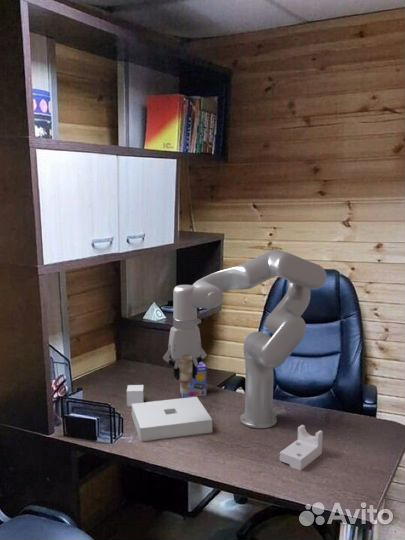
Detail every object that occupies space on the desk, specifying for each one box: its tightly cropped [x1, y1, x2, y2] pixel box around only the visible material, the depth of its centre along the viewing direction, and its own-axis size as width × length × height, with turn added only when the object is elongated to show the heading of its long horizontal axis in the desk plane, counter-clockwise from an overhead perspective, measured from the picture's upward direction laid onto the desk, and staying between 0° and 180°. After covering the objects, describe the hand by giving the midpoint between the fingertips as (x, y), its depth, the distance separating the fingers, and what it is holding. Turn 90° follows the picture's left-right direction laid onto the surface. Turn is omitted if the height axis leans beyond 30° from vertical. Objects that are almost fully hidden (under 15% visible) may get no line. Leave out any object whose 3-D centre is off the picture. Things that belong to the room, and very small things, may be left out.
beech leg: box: [177, 355, 193, 394], centre depth 177 cm, size 5×5×13 cm
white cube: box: [126, 384, 145, 407], centre depth 205 cm, size 6×6×6 cm
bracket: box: [279, 424, 324, 471], centre depth 165 cm, size 13×7×8 cm, turn 140°
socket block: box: [131, 396, 213, 442], centre depth 188 cm, size 24×20×4 cm
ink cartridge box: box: [179, 361, 208, 398], centre depth 212 cm, size 10×6×14 cm, turn 107°
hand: (185, 377), depth 178 cm, fingers closed on beech leg, 4 cm apart
